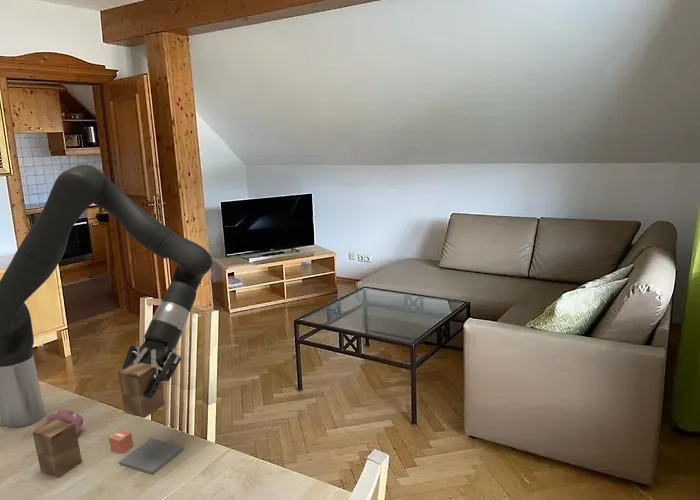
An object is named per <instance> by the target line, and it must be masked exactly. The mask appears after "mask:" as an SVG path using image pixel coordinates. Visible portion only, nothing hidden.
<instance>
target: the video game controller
mask: <svg viewBox="0 0 700 500" xmlns="http://www.w3.org/2000/svg"><path fill="white" fill-rule="evenodd" d="M56 418H58V419H62V420H65V421H69V422H72V423H75V427H76V432H77V436H78V435H79V433H80V430H81V427H82V426H83V424H84V417H83V416H82V415H81V414H78V413H77V412H75V411H72V410H69V409H68V410H67V409H65V410H64V409H63V410H56V411H55V410H54V411H53V412H51V413H50V414H49V415H48V416H47V417H46V418H45V421H44V423H43V425H42V426H44V425H45V424H47V423H49V422H51V421H52V420H54V419H56Z"/></svg>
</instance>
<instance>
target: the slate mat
mask: <svg viewBox="0 0 700 500" xmlns="http://www.w3.org/2000/svg"><path fill="white" fill-rule="evenodd" d="M183 450H184V446H181V445H177V444H174V443H170V442H167V441H162V440H160V439H156V438H152V437H151V438H149V439H148V440H147V441H145V442H144V443H143V444H141V445H139V447H137V448H136V449H134V450H133V451H132V452H130V453H129V454H128V455H126V456H125V457H123V458H122V459H121V460H119V461H118V465H121V466H123V467H127V468H131V469H134V470H137V471H139V472H144V473H146V474H150V475H151V476H152V475H154V474H156V473H157V471H159V470H160V469H161V468H162V467H164V466H165V465H166V464H168V463H169V462H170V461H171V460H172V459H174V458H175V457H176V456H177V455H178V454H180V453H181V452H183Z"/></svg>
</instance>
